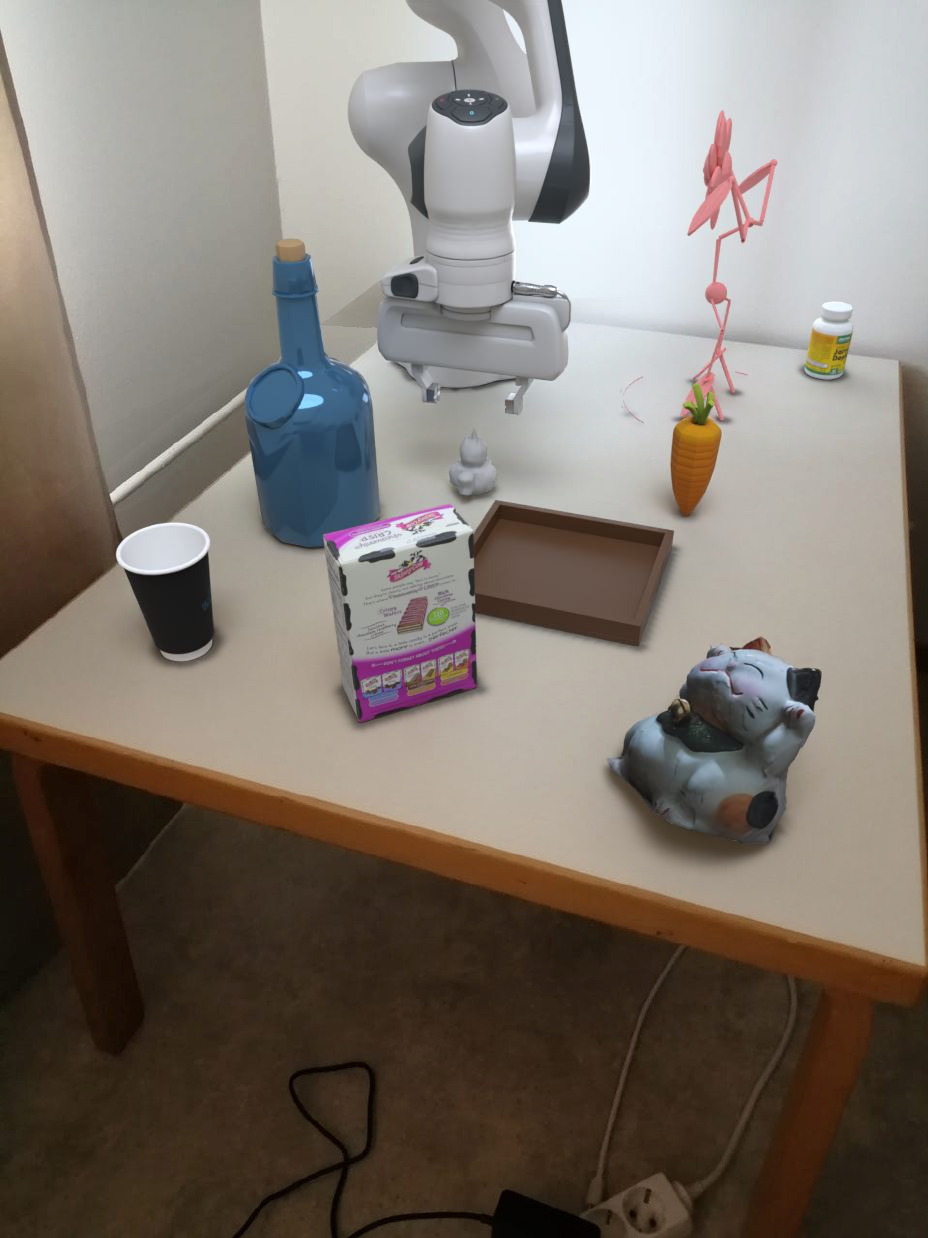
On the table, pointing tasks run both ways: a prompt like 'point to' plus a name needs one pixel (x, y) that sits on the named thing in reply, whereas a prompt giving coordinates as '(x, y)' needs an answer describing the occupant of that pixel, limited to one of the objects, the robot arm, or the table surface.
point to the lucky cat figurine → (724, 744)
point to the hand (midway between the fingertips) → (472, 406)
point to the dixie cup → (172, 586)
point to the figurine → (723, 235)
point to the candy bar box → (404, 609)
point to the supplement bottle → (830, 341)
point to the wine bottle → (309, 421)
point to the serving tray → (568, 570)
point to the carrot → (694, 452)
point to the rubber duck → (473, 467)
